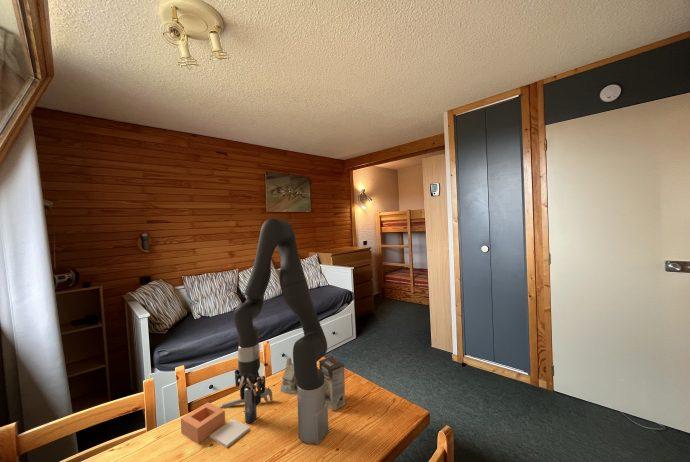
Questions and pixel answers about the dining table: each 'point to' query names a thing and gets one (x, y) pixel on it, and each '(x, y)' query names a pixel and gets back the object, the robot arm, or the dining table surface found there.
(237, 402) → the caliper
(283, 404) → the dining table surface
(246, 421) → the dark grey bar
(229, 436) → the mat
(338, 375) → the coffee box
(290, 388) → the ceramic cottage
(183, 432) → the block
